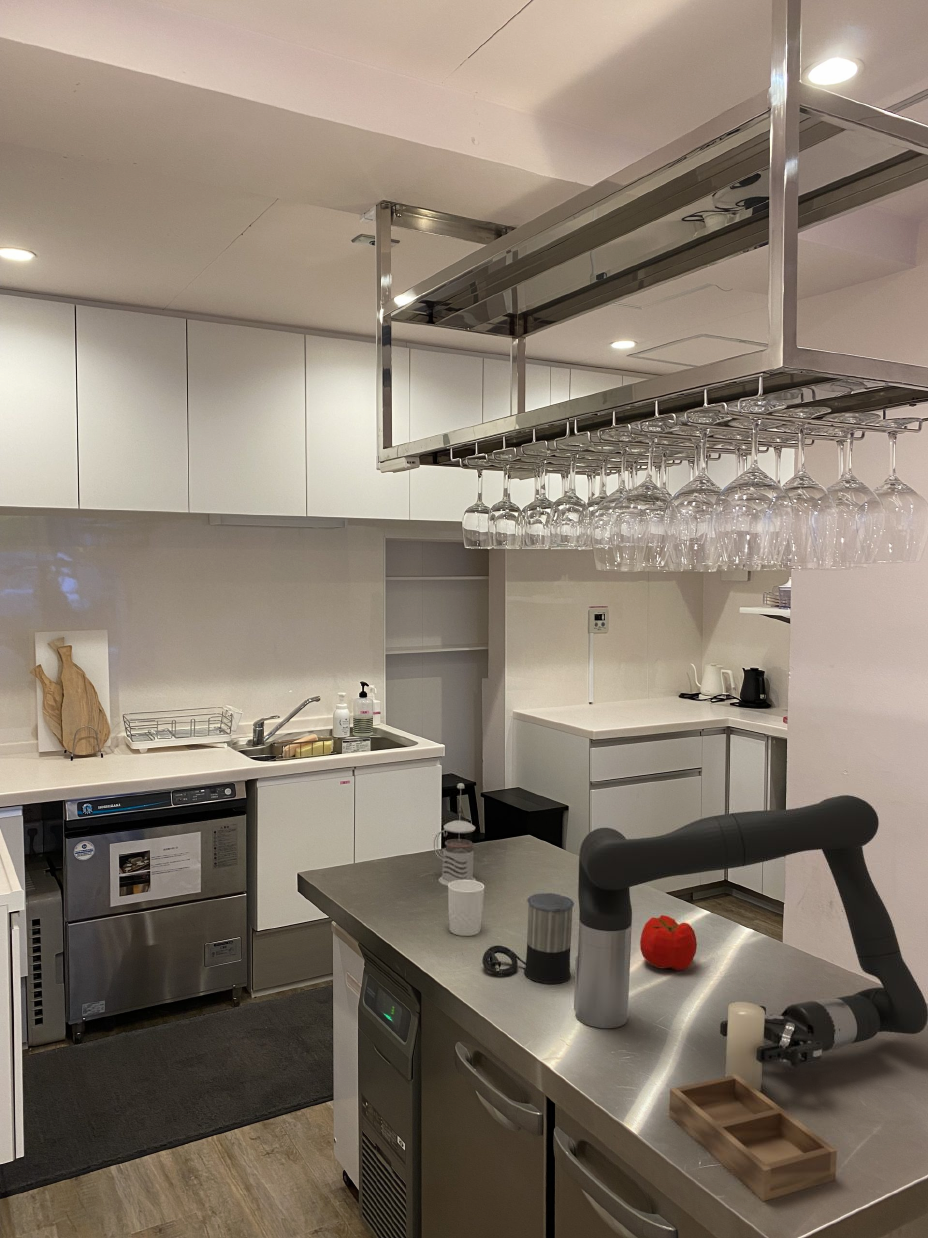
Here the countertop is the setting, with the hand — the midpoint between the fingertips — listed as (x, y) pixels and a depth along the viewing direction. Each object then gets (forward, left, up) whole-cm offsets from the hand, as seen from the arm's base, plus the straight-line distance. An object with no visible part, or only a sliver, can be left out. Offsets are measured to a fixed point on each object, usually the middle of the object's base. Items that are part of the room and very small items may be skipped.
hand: (739, 1042), depth 146 cm
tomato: (-42, +17, -7) cm, 46 cm away
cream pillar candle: (0, +1, -7) cm, 7 cm away
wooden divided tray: (+13, -9, -7) cm, 17 cm away
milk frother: (-48, -12, -7) cm, 50 cm away
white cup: (-72, -15, -7) cm, 74 cm away
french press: (-104, -4, -7) cm, 104 cm away
